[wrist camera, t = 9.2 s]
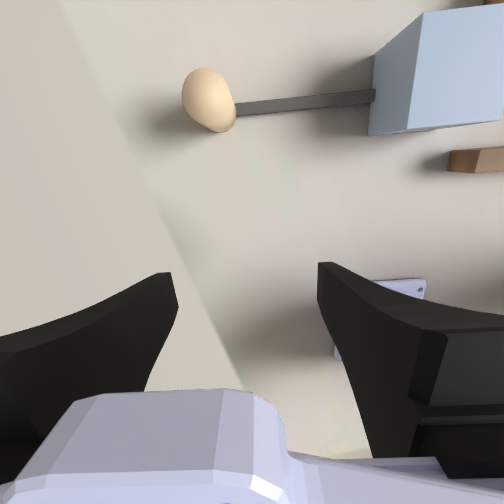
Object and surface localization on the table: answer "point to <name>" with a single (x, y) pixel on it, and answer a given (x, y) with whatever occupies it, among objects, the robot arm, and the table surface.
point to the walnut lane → (478, 151)
